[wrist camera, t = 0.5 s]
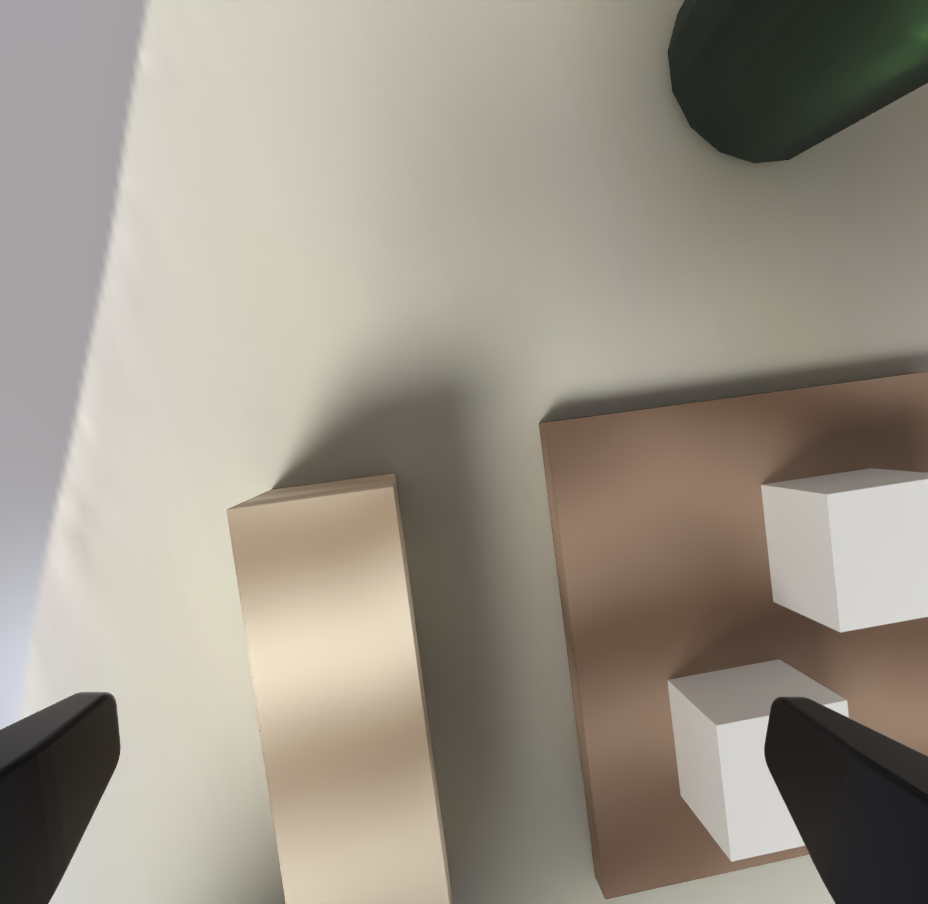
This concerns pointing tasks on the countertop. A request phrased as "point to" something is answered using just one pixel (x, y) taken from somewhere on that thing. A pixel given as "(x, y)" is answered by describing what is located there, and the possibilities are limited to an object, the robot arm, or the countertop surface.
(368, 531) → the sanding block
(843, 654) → the walnut board
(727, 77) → the potion bottle
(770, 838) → the plain white cube
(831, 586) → the white square block
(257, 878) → the countertop surface
